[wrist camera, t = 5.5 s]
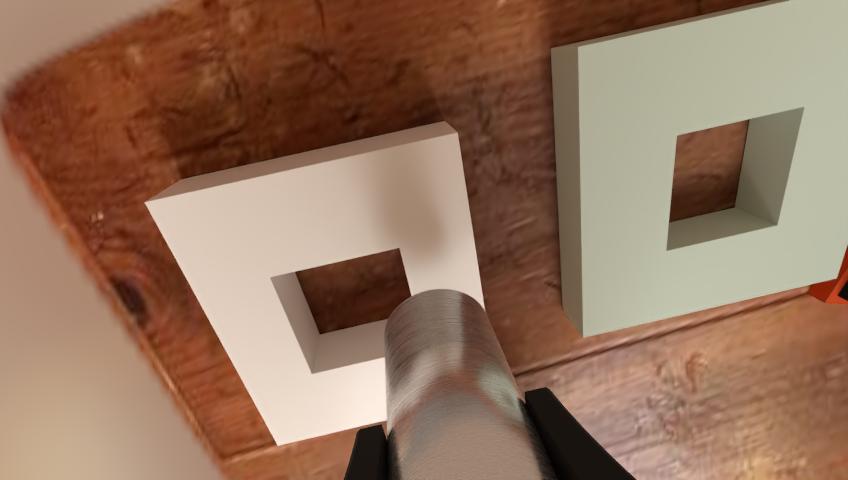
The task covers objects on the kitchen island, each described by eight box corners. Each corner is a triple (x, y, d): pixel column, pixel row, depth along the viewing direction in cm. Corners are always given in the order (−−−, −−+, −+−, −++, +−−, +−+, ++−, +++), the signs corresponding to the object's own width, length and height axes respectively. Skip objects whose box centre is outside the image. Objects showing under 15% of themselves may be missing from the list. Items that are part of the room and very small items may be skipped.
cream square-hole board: (483, 355, 24) (497, 393, 21) (289, 400, 23) (277, 445, 21) (444, 120, 17) (457, 132, 15) (180, 179, 17) (144, 202, 15)
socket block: (791, 256, 23) (836, 278, 21) (562, 310, 23) (583, 337, 21) (862, -21, 17) (936, -32, 15) (550, 48, 17) (578, 47, 14)
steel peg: (493, 363, 16) (620, 692, 8) (394, 383, 16) (417, 740, 7) (484, 279, 14) (637, 589, 6) (373, 300, 14) (373, 649, 6)
